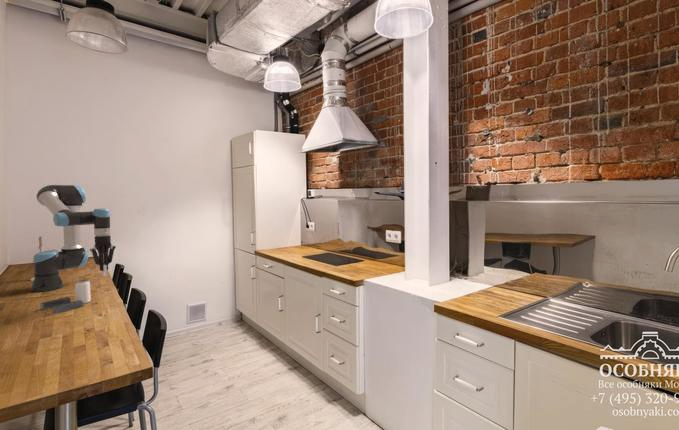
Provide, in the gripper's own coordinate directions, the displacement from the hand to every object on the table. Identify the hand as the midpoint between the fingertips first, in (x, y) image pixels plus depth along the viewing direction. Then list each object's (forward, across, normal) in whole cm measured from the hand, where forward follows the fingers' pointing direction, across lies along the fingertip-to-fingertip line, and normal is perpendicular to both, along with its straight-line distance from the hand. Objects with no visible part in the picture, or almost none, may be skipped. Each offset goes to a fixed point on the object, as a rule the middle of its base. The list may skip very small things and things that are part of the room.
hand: (104, 275), depth 192 cm
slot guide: (+12, -21, 0) cm, 24 cm away
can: (+13, -11, 0) cm, 17 cm away
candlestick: (+12, +3, +78) cm, 79 cm away
